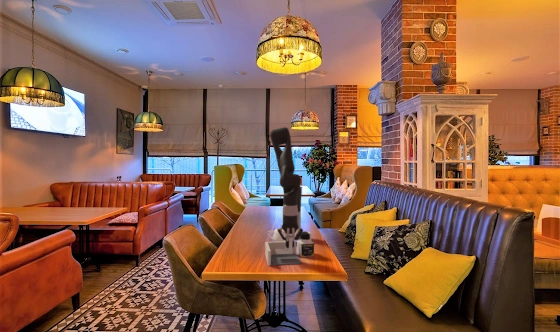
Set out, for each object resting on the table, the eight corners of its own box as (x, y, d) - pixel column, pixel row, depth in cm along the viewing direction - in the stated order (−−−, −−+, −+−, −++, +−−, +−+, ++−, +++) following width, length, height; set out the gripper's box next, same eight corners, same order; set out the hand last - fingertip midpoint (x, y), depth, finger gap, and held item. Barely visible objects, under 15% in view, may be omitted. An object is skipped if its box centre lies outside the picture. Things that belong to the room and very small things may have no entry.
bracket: (276, 254, 144) (276, 238, 144) (275, 251, 149) (275, 235, 149) (292, 253, 146) (292, 237, 145) (290, 250, 150) (290, 235, 150)
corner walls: (265, 255, 155) (265, 242, 155) (295, 253, 157) (295, 240, 157) (268, 265, 140) (268, 251, 140) (301, 264, 142) (301, 249, 142)
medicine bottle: (301, 257, 152) (301, 234, 152) (296, 253, 159) (297, 231, 158) (314, 256, 154) (314, 233, 153) (309, 251, 161) (309, 230, 160)
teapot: (299, 239, 185) (299, 223, 185) (300, 245, 173) (300, 228, 172) (267, 239, 185) (267, 223, 185) (266, 245, 173) (266, 228, 173)
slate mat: (267, 255, 154) (267, 254, 154) (295, 254, 156) (295, 253, 156) (270, 265, 140) (270, 264, 140) (301, 264, 142) (301, 262, 142)
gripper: (277, 215, 143) (277, 250, 143) (305, 214, 145) (304, 249, 145) (275, 212, 150) (275, 246, 151) (301, 212, 152) (301, 245, 153)
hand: (290, 247), depth 148 cm, fingers closed on bracket, 1 cm apart
